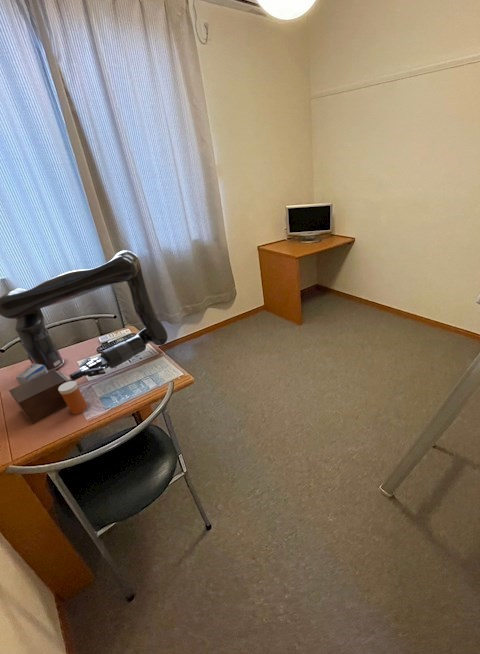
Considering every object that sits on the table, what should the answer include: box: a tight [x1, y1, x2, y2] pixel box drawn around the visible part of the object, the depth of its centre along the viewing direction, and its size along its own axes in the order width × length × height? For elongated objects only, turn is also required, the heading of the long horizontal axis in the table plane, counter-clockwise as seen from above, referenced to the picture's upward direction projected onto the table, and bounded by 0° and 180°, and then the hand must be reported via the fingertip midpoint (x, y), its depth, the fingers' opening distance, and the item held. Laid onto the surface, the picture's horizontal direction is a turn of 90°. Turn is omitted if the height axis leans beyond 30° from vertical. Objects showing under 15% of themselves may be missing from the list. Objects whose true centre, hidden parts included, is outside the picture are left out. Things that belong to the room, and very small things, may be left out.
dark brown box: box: [8, 370, 68, 425], centre depth 112 cm, size 14×11×9 cm
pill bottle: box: [58, 380, 89, 415], centre depth 109 cm, size 5×5×10 cm
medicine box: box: [15, 364, 48, 385], centre depth 121 cm, size 8×4×9 cm, turn 168°
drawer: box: [56, 370, 73, 382], centre depth 114 cm, size 14×9×7 cm
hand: (71, 378), depth 118 cm, fingers closed
